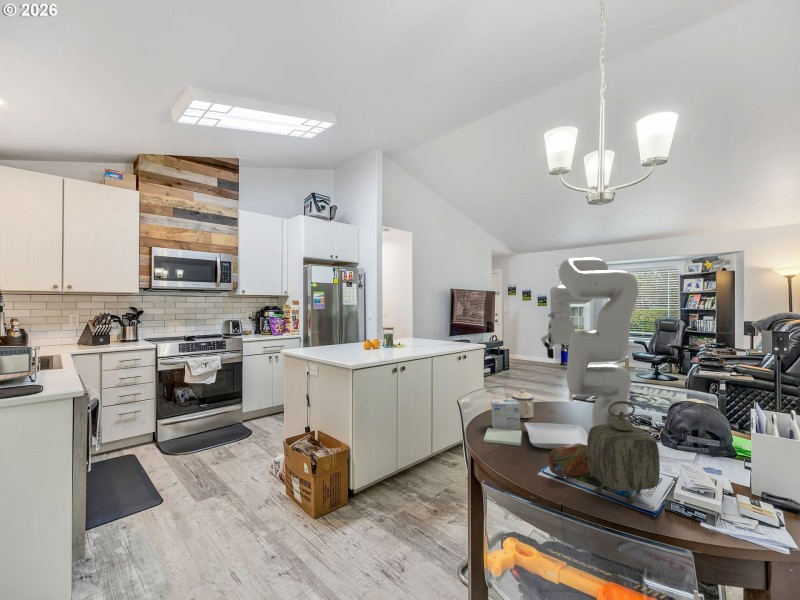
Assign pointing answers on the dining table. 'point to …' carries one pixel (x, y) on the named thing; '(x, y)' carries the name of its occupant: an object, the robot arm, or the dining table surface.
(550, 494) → the dining table surface
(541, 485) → the dining table surface
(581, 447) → the tin
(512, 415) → the light bulb box
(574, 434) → the salad plate
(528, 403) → the teacup with lid
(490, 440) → the sage mat
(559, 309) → the robot arm
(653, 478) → the tabletop clock
